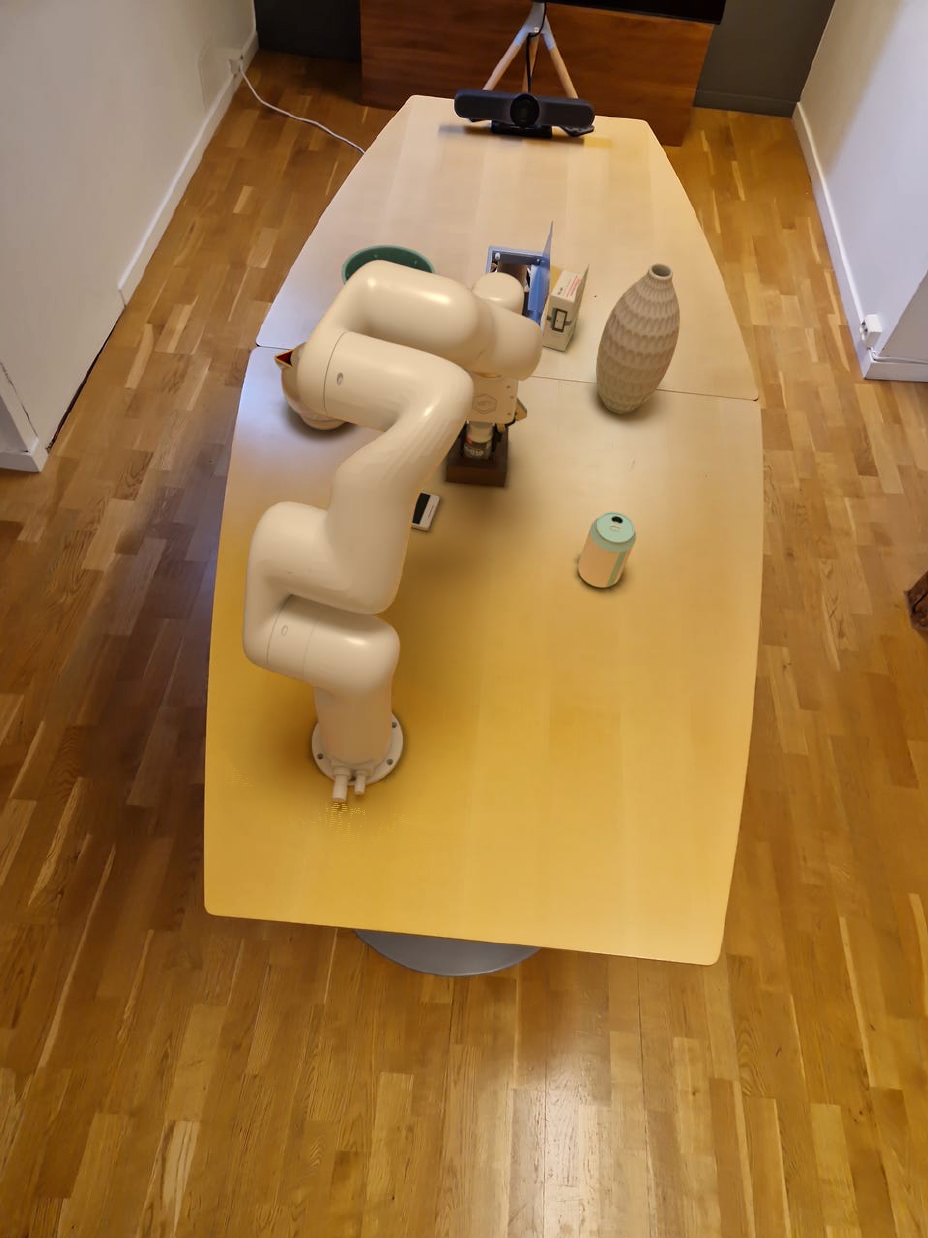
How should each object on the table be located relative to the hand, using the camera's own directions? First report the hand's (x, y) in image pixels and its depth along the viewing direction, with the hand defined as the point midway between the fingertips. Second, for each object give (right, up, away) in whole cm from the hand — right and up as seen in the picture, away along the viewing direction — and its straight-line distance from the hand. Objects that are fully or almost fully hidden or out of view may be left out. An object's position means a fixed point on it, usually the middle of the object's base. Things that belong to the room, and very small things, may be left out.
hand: (478, 440), depth 137 cm
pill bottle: (0, -2, +3) cm, 4 cm away
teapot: (-26, +6, +8) cm, 28 cm away
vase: (+27, +10, +15) cm, 32 cm away
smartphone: (-15, -11, -1) cm, 18 cm away
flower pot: (-17, +22, +18) cm, 33 cm away
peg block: (0, -3, +5) cm, 6 cm away
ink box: (+16, +26, +24) cm, 39 cm away
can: (+19, -22, -5) cm, 30 cm away
